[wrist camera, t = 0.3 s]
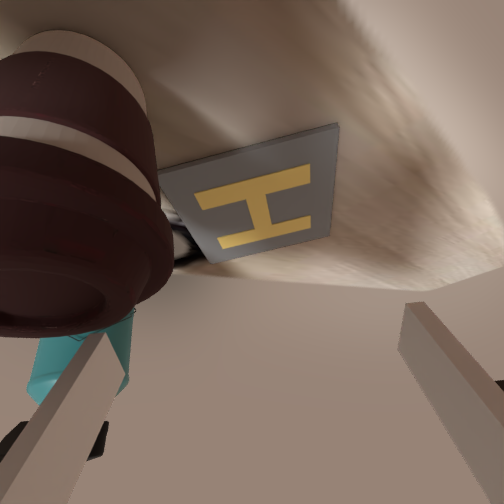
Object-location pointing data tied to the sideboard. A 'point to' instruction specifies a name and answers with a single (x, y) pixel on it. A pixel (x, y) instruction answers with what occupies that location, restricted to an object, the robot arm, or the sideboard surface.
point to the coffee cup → (76, 190)
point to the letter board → (257, 194)
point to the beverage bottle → (60, 354)
